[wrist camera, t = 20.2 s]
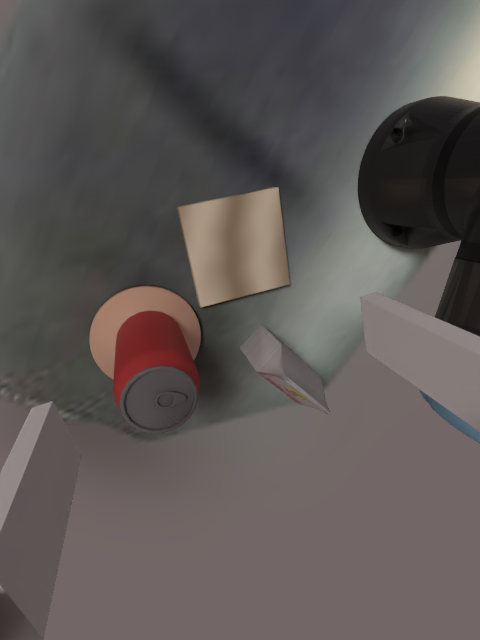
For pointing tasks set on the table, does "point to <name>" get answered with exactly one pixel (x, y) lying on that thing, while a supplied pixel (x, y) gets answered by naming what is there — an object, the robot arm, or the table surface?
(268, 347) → the printed cardboard carton
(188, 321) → the coaster
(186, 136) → the table surface
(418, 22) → the table surface
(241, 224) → the square tan board
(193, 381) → the beer can
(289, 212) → the table surface
